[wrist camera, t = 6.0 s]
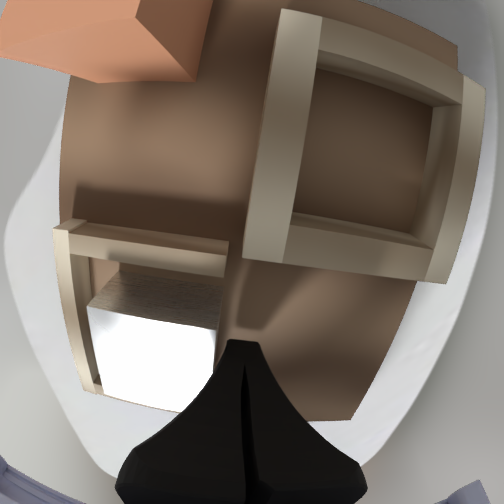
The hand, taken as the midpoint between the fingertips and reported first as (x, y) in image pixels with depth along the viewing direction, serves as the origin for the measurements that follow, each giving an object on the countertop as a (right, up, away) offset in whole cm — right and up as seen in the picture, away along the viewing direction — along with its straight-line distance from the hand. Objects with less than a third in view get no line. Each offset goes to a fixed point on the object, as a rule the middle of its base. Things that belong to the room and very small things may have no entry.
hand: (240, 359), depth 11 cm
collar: (+5, +8, -1) cm, 9 cm away
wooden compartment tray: (0, +6, +2) cm, 6 cm away
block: (-3, +1, +1) cm, 4 cm away
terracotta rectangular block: (-3, +12, -3) cm, 13 cm away
